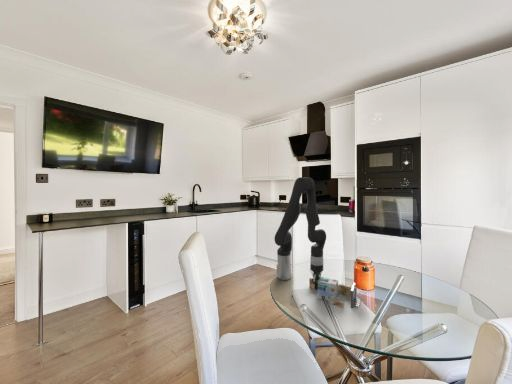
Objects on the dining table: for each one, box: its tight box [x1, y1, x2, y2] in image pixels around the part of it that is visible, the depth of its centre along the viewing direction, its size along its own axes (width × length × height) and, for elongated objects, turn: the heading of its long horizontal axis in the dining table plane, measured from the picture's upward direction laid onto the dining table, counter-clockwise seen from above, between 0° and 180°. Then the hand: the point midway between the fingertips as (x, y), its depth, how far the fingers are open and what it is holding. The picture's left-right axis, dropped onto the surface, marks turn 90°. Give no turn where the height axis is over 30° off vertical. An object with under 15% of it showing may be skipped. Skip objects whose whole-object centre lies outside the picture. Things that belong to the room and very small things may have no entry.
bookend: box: [350, 282, 361, 309], centre depth 138 cm, size 4×10×10 cm, turn 151°
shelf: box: [308, 277, 358, 308], centre depth 146 cm, size 28×14×6 cm, turn 61°
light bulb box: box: [317, 276, 339, 302], centre depth 145 cm, size 11×7×11 cm, turn 61°
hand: (316, 289), depth 149 cm, fingers closed
